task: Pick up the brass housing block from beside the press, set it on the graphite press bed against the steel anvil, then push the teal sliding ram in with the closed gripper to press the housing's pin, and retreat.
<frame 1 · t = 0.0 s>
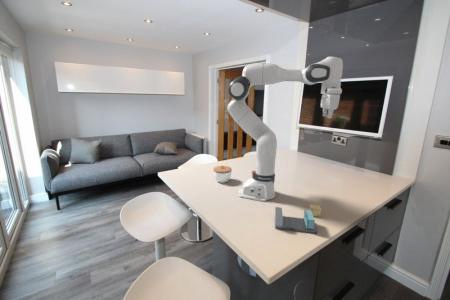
hand: (326, 117, 116), 48 cm above the worktop, fingers open, 8 cm apart
housing: (314, 214, 111), on the worktop
press bed: (294, 225, 102), on the worktop
ram: (308, 219, 100), point 4 cm above the worktop, slide at 0.0 cm
lidded bowl: (222, 181, 154), on the worktop
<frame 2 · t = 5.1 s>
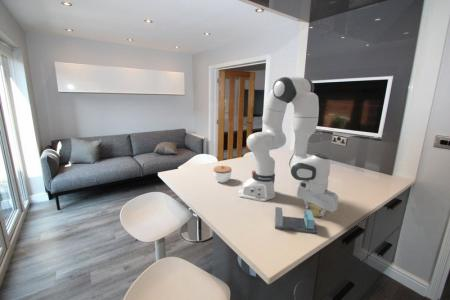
hand: (314, 211, 111), 2 cm above the worktop, fingers closed on housing, 6 cm apart
housing: (314, 214, 111), on the worktop, touching gripper
everything else where it was.
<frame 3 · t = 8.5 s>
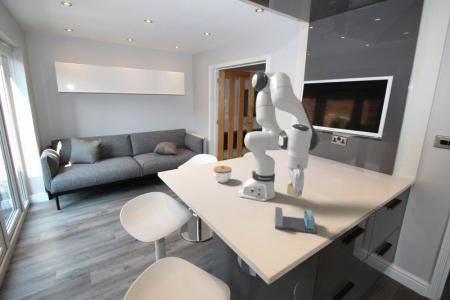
hand: (294, 191, 99), 17 cm above the worktop, fingers closed on housing, 6 cm apart
housing: (294, 194, 99), point 15 cm above the worktop, touching gripper
everything else where it was.
when the fingers open (4 cm above the worktop, at t = 11.7 s): housing stays where it is, resting on press bed.
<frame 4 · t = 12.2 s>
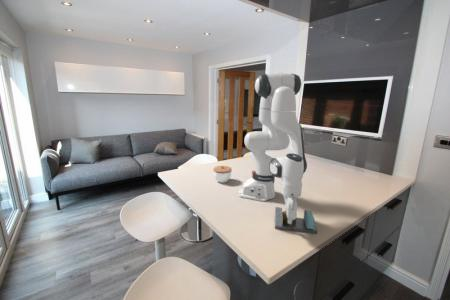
hand: (288, 217, 102), 4 cm above the worktop, fingers open, 8 cm apart
housing: (288, 221, 102), point 1 cm above the worktop, touching press bed
everything else where it was.
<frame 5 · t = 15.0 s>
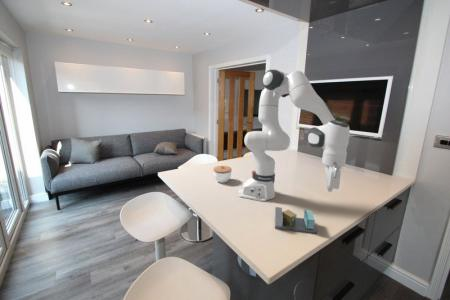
hand: (329, 190, 95), 19 cm above the worktop, fingers closed
nothing on the worktop moved.
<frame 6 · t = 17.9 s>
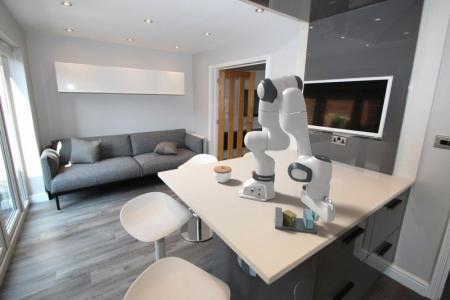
hand: (314, 219, 100), 4 cm above the worktop, fingers closed
ram: (307, 219, 100), point 4 cm above the worktop, slide at 0.5 cm, touching gripper
everything else where it was.
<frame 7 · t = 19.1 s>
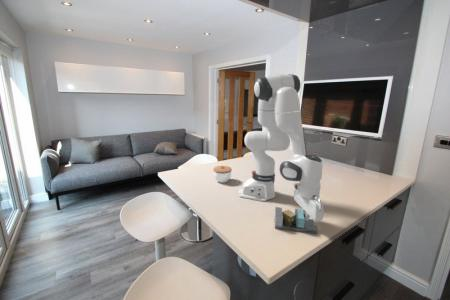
hand: (305, 218, 100), 4 cm above the worktop, fingers closed
housing: (288, 221, 102), point 1 cm above the worktop, touching press bed, ram
ram: (299, 218, 101), point 4 cm above the worktop, slide at 4.2 cm, touching gripper, housing
everything else where it was.
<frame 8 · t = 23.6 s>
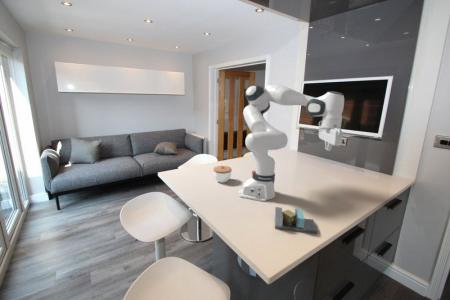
hand: (327, 150, 115), 31 cm above the worktop, fingers closed
ram: (299, 218, 101), point 4 cm above the worktop, slide at 4.2 cm, touching housing
everything else where it was.
at the end: housing 0.5 cm from the target spot on the press bed, point 1.5 cm above the press bed's base; ram slide at 4.2 cm; housing tilted 0° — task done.
